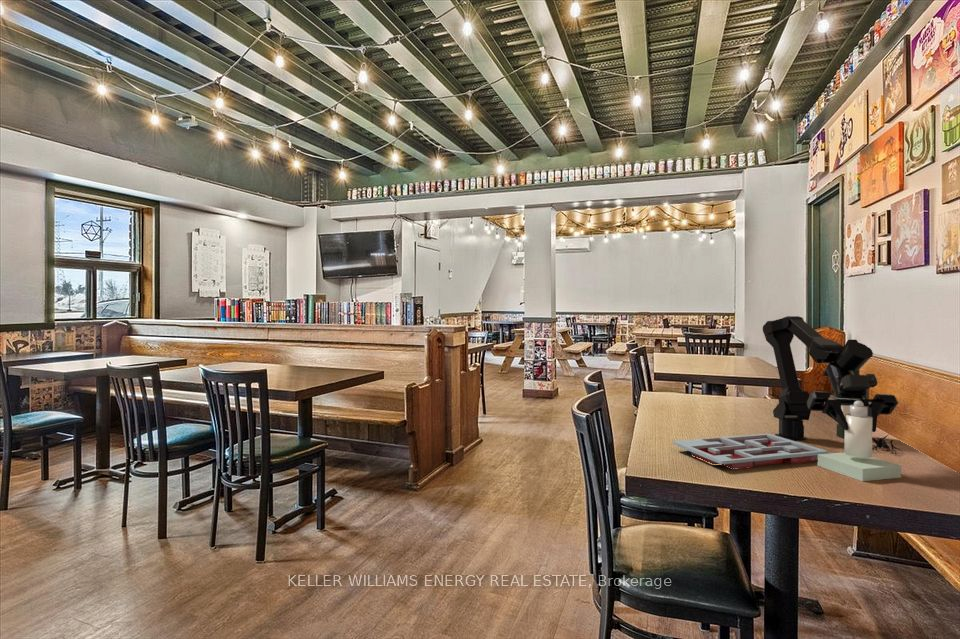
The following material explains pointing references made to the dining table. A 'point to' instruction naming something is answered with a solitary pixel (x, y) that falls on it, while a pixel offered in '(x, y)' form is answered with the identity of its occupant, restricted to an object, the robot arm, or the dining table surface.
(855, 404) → the pepper mill
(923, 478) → the dining table surface
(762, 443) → the maze game
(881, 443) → the creature
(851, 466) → the plinth
